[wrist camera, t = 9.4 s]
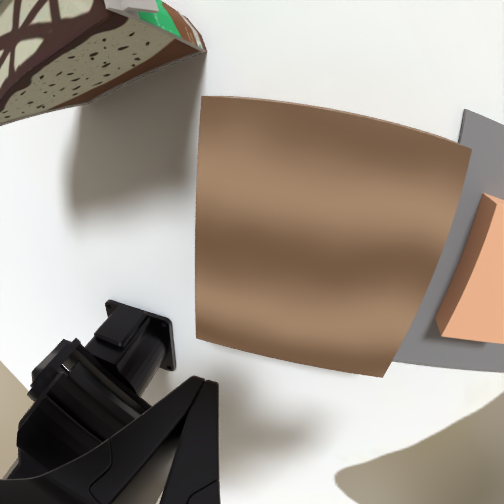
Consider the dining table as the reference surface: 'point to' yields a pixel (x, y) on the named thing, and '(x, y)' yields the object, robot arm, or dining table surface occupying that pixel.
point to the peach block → (478, 281)
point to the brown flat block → (317, 230)
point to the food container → (84, 50)
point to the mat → (424, 323)
